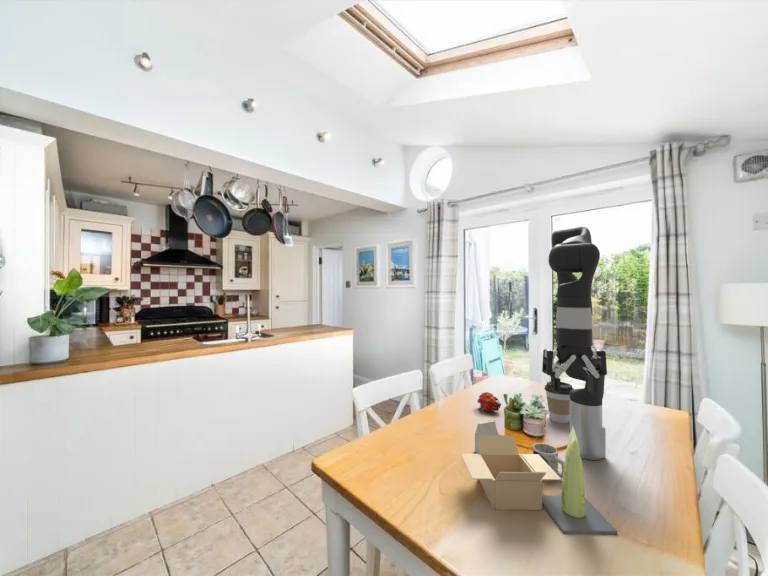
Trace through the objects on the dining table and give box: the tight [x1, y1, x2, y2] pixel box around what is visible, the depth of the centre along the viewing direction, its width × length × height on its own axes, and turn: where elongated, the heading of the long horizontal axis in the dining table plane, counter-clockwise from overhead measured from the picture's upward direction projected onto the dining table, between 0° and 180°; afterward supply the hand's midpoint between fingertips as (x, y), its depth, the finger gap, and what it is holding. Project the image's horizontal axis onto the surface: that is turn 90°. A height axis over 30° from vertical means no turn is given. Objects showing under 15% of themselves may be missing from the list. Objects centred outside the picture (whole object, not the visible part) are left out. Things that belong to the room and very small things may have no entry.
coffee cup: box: [543, 380, 574, 424], centre depth 132 cm, size 11×11×15 cm
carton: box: [460, 435, 563, 511], centre depth 84 cm, size 22×19×11 cm
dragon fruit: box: [476, 391, 502, 414], centre depth 142 cm, size 8×8×12 cm
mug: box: [532, 442, 565, 479], centre depth 93 cm, size 10×7×7 cm
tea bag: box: [474, 420, 500, 454], centre depth 105 cm, size 4×7×10 cm, turn 110°
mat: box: [542, 494, 618, 535], centre depth 76 cm, size 12×12×1 cm
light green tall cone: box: [561, 425, 586, 518], centre depth 76 cm, size 6×5×20 cm
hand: (574, 392), depth 76 cm, fingers open, 8 cm apart
